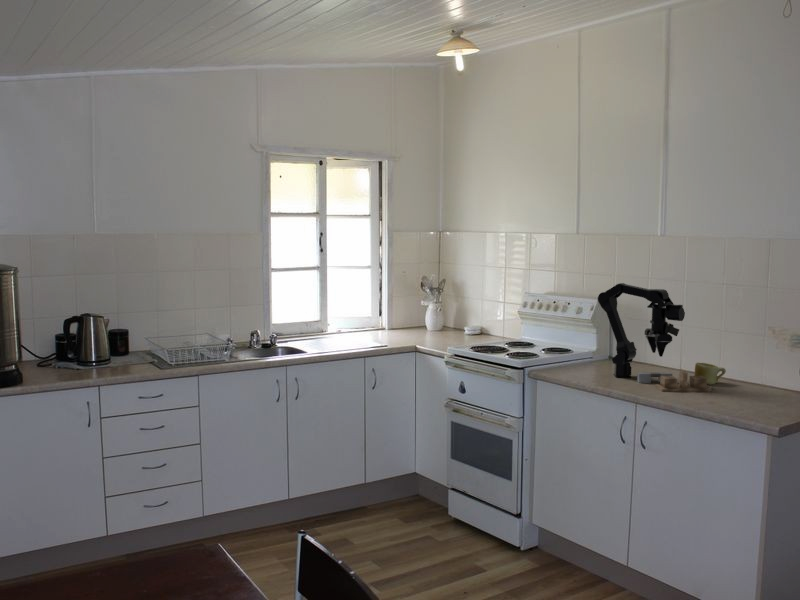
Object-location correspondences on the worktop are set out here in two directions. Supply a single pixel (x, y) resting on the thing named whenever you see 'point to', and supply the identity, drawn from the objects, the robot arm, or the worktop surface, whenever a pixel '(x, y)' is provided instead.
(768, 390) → the worktop surface
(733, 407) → the worktop surface
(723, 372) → the mug
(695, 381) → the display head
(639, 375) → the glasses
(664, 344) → the robot arm
